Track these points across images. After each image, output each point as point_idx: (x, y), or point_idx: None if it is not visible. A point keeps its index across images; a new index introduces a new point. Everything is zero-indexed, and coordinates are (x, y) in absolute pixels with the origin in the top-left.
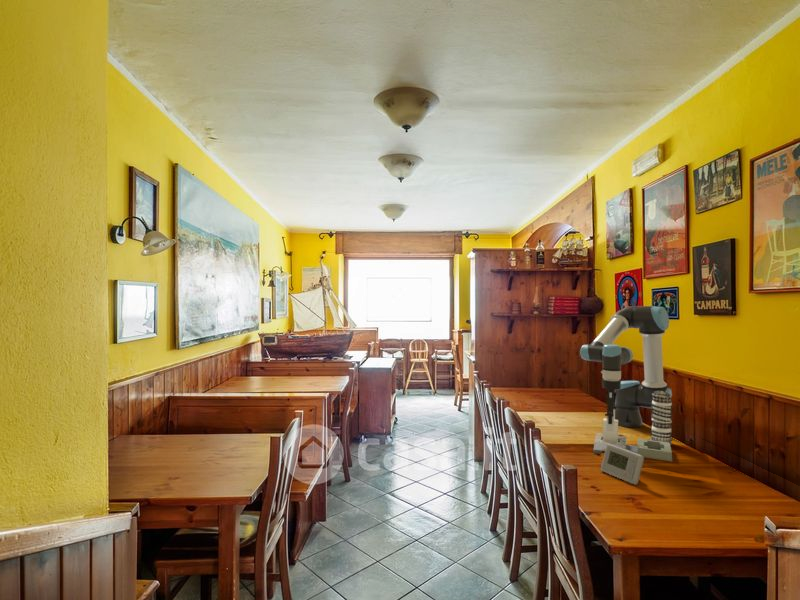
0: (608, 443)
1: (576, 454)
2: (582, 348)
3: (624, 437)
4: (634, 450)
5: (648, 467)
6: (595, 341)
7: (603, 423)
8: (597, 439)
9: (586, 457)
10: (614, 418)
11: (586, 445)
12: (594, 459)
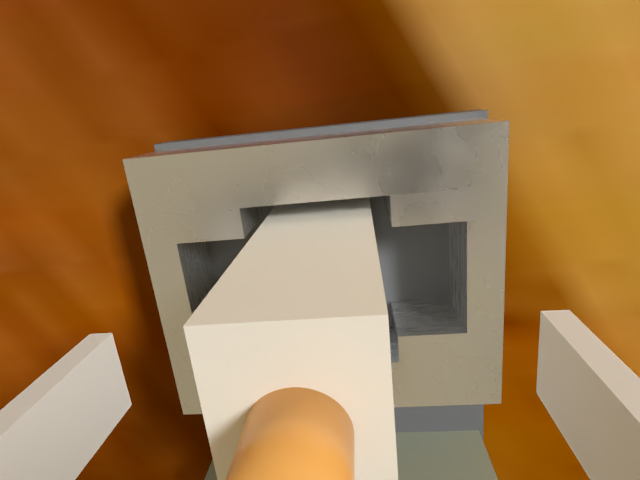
0: (159, 289)
1: (31, 21)
2: None
3: (467, 391)
4: None
5: (125, 469)
6: None
7: (205, 307)
8: (225, 177)
9: (21, 115)
10: (575, 452)
11: (356, 42)
12: (23, 178)
